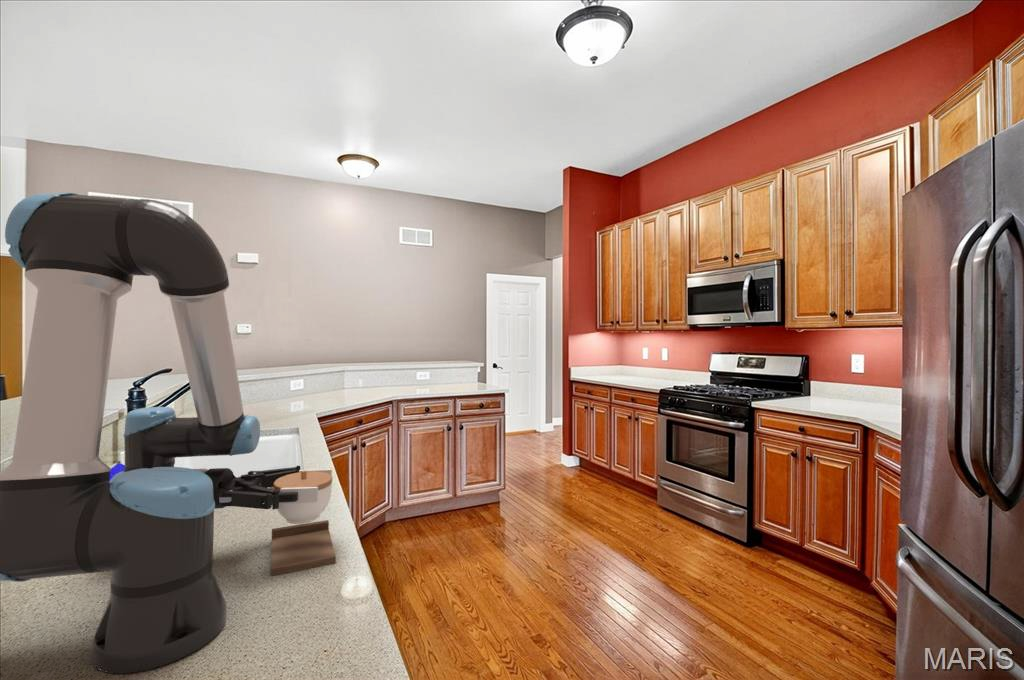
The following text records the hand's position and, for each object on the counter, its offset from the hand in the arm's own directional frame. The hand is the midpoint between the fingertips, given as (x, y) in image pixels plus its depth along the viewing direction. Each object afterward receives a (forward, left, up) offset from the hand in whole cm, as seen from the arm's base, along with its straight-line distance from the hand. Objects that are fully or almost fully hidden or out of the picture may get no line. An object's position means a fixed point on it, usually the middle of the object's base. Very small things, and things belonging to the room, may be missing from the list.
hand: (325, 484), depth 92 cm
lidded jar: (0, +4, -7) cm, 8 cm away
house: (+24, +49, -14) cm, 56 cm away
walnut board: (-1, +4, -13) cm, 14 cm away
